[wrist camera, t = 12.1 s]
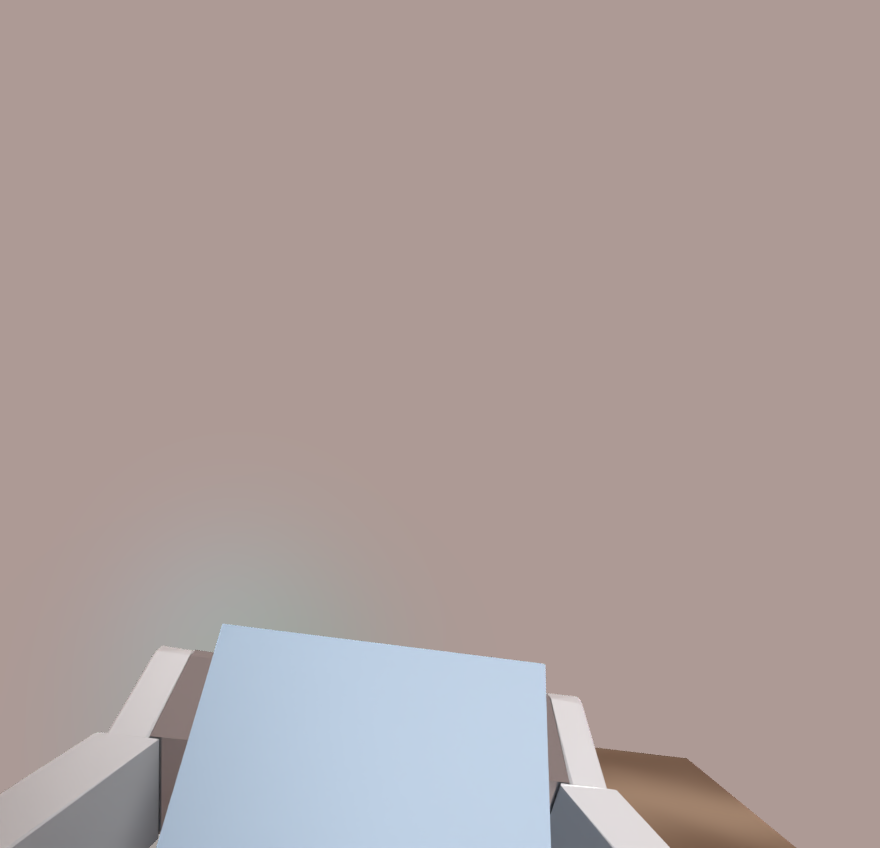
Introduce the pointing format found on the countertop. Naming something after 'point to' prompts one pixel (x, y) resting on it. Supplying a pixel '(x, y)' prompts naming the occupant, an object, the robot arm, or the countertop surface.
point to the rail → (361, 748)
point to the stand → (684, 802)
